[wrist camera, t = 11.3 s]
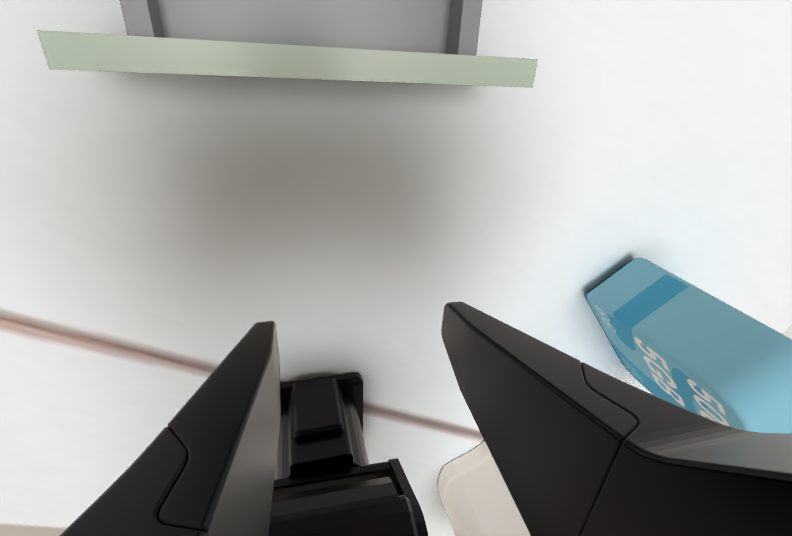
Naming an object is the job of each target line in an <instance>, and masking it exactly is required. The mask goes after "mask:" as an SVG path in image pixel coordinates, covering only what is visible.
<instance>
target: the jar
mask: <svg viewBox="0 0 792 536" xmlns="http://www.w3.org/2000/svg"><path fill="white" fill-rule="evenodd" d="M438 491H439V495H440V498H441V500H442V503H443V506H444V508H445V510H446V511H447V514H448V516H449V519H450V522H451V525H452V527H453V530H454V533H455V536H531V535H530V533H529V531H528V529H527V527H526V525H525V523H524V521H523V519H522V517H521V514H520V512H519V510H518V508H517V506H516V504H515V502H514V500H513V498H512V496H511V494H510V492H509V490H508V488H507V486H506V483H505V481H504V479H503V477H502V475H501V473H500V471H499V469H498V467H497V465H496V463H495V461H494V459H493V457H492V455H491V452H490V450H489V448H488V446H487V444H486V442H485V441H483V442H482V443H481V444H480V445H478V446H477V447H476V448H474V449H473V450H471V451H470V452H468V453H466V454H465V455H463V456H461V457H459V458H457V459H454V460H452V461H451V462H449V463H448V464H446V465H445V466H444V467H443V469H442V471H441V473H440V476H439V479H438Z"/></svg>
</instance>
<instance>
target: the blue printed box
mask: <svg viewBox="0 0 792 536" xmlns="http://www.w3.org/2000/svg"><path fill="white" fill-rule="evenodd" d="M587 300H588V302H589V304H590V306H591V308H592V310H593V311H594V313H595V315H596V317H597V319H598V320H599V322H600V324H601V326H602V328H603V329H604V331H605V333H606V335H607V337H608V338H609V340H610V342H611V344H612V346H613V347H614V349H615V351H616V353H617V355H618V356H619V358H620V360H621V362H622V363H623V365H624V366H625V367H626V369H627V370H628V371H629V372H630V373H631V374H632V375H633V376H634V378H635V379H637V380H638V381H639V382H640V383H641V384H642V385H643V386H644V387H645V388H646V389H647V390H649V391H650V392H651V393H652V394H653V395H654V396H657V397H659V398H661V399H664V400H666V401H668V402H671V403H673V404H675V405H678V406H680V407H682V408H685V409H687V410H689V411H692V412H694V413H696V414H699V415H701V416H703V417H706V418H708V419H710V420H713V421H715V422H718V423H720V424H723V425H726V426H730V427H733V428H737V429H741V430H746V431H752V432H760V433H787V434H792V340H791V339H790V338H788V337H786V336H784V335H783V334H781V333H779V332H777V331H775V330H773V329H772V328H770V327H768V326H766V325H764V324H763V323H761V322H759V321H757V320H755V319H753V318H752V317H750V316H748V315H746V314H744V313H743V312H741V311H739V310H737V309H735V308H733V307H732V306H730V305H728V304H726V303H724V302H723V301H721V300H719V299H717V298H715V297H713V296H712V295H710V294H708V293H706V292H704V291H703V290H701V289H699V288H697V287H695V286H693V285H692V284H690V283H688V282H686V281H684V280H683V279H681V278H679V277H677V276H675V275H673V274H672V273H670V272H668V271H666V270H664V269H663V268H661V267H659V266H657V265H655V264H653V263H652V262H650V261H648V260H646V259H643V258H636V259H634V260H632V261H631V262H630V263H628V264H627V265H626V266H624V267H623V268H621V269H620V270H619V271H617V272H616V273H615V274H613V275H612V276H611V277H609V278H608V279H607V280H605V281H604V282H603V283H601V284H600V285H599V286H597V287H596V288H594V289H593V290H592V291H590V292H589V293H588V294H587Z"/></svg>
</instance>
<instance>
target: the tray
mask: <svg viewBox="0 0 792 536" xmlns="http://www.w3.org/2000/svg"><path fill="white" fill-rule="evenodd" d="M120 4H121V8H122V12H123V17H124V21H125V25H126V30H127V34H128V36H126V35H109V34H92V33H74V32H57V31H40V30H37V33H38V36H39V39H40V42H41V45H42V48H43V51H44V54H45V57H46V61H47V64H48V67H49V69H59V70H85V71H111V72H137V73H163V74H190V75H216V76H242V77H268V78H295V79H321V80H347V81H373V82H400V83H426V84H452V85H478V86H505V87H531V88H532V87H533V82H534V77H535V71H536V66H537V60H538V59H524V58H507V57H489V56H476V50H477V42H478V33H479V25H480V17H481V8H482V0H120Z"/></svg>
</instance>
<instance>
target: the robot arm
mask: <svg viewBox="0 0 792 536" xmlns="http://www.w3.org/2000/svg"><path fill="white" fill-rule="evenodd" d="M442 339H443V342H444V345H445V348H446V350H447V353H448V356H449V359H450V362H451V365H452V368H453V371H454V374H455V376H456V379H457V382H458V385H459V387H460V390H461V392H462V394H463V397H464V399H465V401H466V403H467V405H468V407H469V409H470V411H471V413H472V415H473V417H474V419H475V422H476V424H477V426H478V428H479V430H480V432H481V434H482V436H483V438H484V440H485V442H486V444H487V446H488V448H489V450H490V452H491V455H492V457H493V459H494V461H495V463H496V465H497V467H498V469H499V471H500V473H501V475H502V477H503V479H504V481H505V483H506V486H507V488H508V490H509V492H510V494H511V496H512V498H513V500H514V502H515V504H516V506H517V508H518V510H519V512H520V514H521V517H522V519H523V521H524V523H525V525H526V527H527V529H528V531H529V533H530V535H531V536H792V434H787V433H760V432H752V431H746V430H741V429H737V428H733V427H730V426H726V425H723V424H720V423H718V422H715V421H713V420H710V419H708V418H706V417H703V416H701V415H699V414H696V413H694V412H692V411H689V410H687V409H685V408H682V407H680V406H678V405H675V404H673V403H671V402H668V401H666V400H664V399H661V398H659V397H657V396H654V395H652V394H650V393H647V392H645V391H643V390H641V389H638V388H636V387H634V386H632V385H629V384H627V383H625V382H622V381H620V380H618V379H616V378H614V377H612V376H610V375H608V374H606V373H604V372H602V371H599V370H597V369H595V368H593V367H591V366H589V365H588V364H586V363H581V362H580V361H579V360H577V359H575V358H573V357H571V356H569V355H567V354H565V353H563V352H561V351H559V350H557V349H555V348H553V347H551V346H549V345H547V344H545V343H543V342H541V341H539V340H537V339H535V338H533V337H531V336H529V335H527V334H525V333H523V332H521V331H519V330H517V329H515V328H513V327H511V326H509V325H507V324H505V323H503V322H501V321H499V320H497V319H495V318H493V317H491V316H489V315H487V314H485V313H483V312H481V311H479V310H477V309H475V308H473V307H471V306H469V305H467V304H465V303H463V302H451V303H447V304H446V305H445V307H444V313H443V321H442ZM354 380H357V381H355V382H353V381H354ZM60 536H428V532H427V528H426V524H425V520H424V516H423V513H422V510H421V508H420V505H419V503H418V501H417V499H416V497H415V495H414V492H413V490H412V488H411V486H410V484H409V482H408V480H407V477H406V475H405V473H404V471H403V469H402V467H401V464H400V462H399V460H398V458H397V459H390V460H388V462H382V463H376V464H369V463H368V458H367V453H366V448H365V444H364V439H363V380H362V376H361V375H360V374H358V373H354V374H347V375H340V376H333V377H326V378H318V379H311V380H304V381H297V382H290V383H283V384H280V366H279V348H278V340H277V332H276V324H275V322H274V321H266V322H257V323H255V324H254V325H253V327H252V328H251V329H250V330H249V331H248V332H247V334H246V335H245V336H244V337H243V338H242V339H241V340H240V342H239V343H238V344H237V345H236V346H235V347H234V349H233V350H232V351H231V352H230V353H229V354H228V355H227V357H226V358H225V359H224V360H223V361H222V362H221V364H220V365H219V366H218V367H217V368H216V369H215V370H214V372H213V373H212V374H211V375H210V376H209V377H208V379H207V380H206V381H205V382H204V383H203V384H202V385H201V387H200V388H199V389H198V390H197V391H196V392H195V394H194V395H193V396H192V397H191V398H190V399H189V400H188V402H187V403H186V404H185V405H184V406H183V407H182V409H181V410H180V411H179V412H178V413H177V414H176V415H175V417H174V418H173V419H172V420H171V421H170V422H169V424H168V426H167V427H165V428H164V429H163V430H162V431H161V433H160V434H159V435H158V436H157V437H156V438H155V439H154V441H153V442H152V443H151V444H150V445H149V446H148V447H147V448H146V449H145V451H144V452H143V453H142V454H141V455H140V456H139V457H138V458H137V459H136V460H135V462H134V463H133V464H132V465H131V466H130V467H129V468H128V469H127V470H126V471H125V472H124V473H123V474H122V475H121V476H120V477H119V478H118V479H117V480H116V481H115V482H114V483H113V484H112V485H111V486H110V487H109V488H108V489H107V490H106V491H105V492H104V493H103V494H102V495H101V496H100V497H99V498H98V499H97V500H96V501H95V502H94V503H93V504H92V505H91V506H90V507H89V508H88V509H87V510H86V511H85V512H84V513H82V514H81V515H80V516H79V517H78V518H77V519H76V520H75V521H74V522H73V523H72V524H71V525H70V526H69V527H68V528H67V529H66V530H65V531H64V532H63V533H62V534H61V535H60Z"/></svg>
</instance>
